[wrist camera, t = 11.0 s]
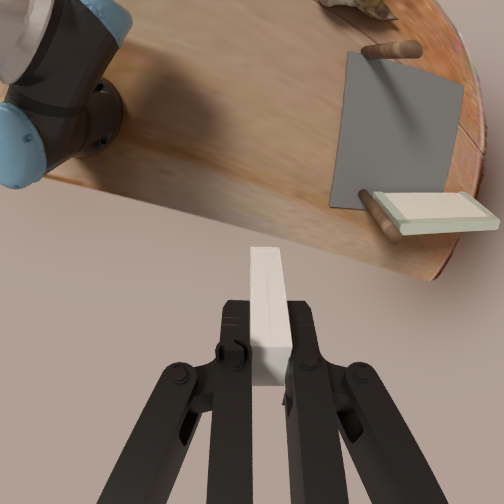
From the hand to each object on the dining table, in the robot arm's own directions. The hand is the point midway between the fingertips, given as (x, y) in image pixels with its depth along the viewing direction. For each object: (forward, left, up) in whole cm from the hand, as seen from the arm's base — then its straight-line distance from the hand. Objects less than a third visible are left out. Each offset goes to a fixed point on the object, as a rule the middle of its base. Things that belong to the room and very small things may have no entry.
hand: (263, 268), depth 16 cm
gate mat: (+26, +2, -36) cm, 45 cm away
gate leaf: (+32, -8, -35) cm, 48 cm away
